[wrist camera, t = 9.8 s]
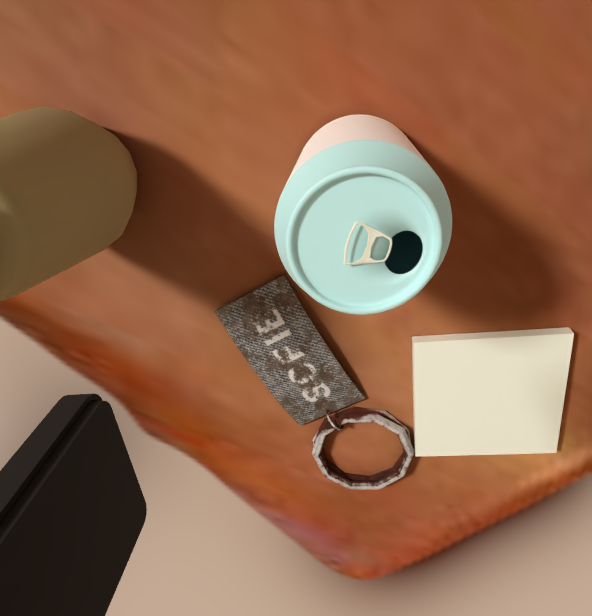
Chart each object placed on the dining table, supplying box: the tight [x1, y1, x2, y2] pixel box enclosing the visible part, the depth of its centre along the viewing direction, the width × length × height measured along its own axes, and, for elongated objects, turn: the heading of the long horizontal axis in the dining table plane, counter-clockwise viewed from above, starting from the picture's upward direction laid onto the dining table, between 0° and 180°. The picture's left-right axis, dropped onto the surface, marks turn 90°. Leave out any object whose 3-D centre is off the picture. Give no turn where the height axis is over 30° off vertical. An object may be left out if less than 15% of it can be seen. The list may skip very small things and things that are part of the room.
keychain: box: [216, 274, 415, 489], centre depth 35 cm, size 8×19×2 cm, turn 32°
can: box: [274, 115, 452, 315], centre depth 23 cm, size 7×7×12 cm
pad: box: [412, 327, 574, 457], centre depth 34 cm, size 10×10×1 cm
